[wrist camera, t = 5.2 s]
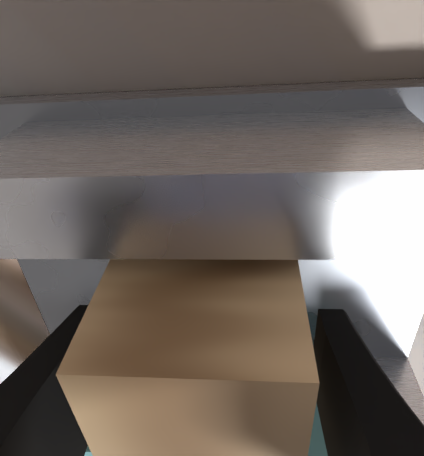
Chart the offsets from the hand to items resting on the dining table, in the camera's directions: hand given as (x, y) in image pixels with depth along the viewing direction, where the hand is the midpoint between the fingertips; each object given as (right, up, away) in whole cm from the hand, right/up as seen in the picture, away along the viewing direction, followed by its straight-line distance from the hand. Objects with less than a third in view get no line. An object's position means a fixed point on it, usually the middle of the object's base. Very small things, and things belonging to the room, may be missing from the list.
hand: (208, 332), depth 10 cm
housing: (0, +2, +2) cm, 3 cm away
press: (+1, -1, +5) cm, 5 cm away
